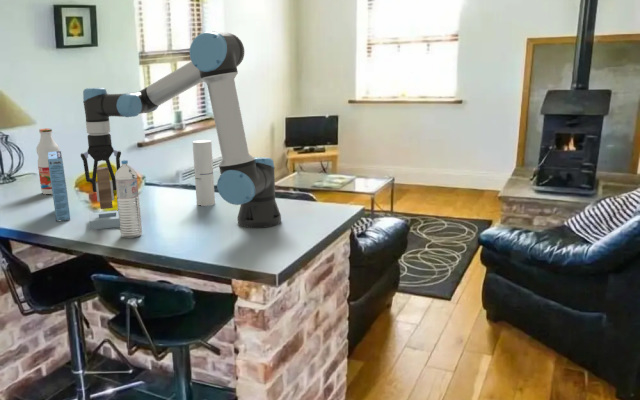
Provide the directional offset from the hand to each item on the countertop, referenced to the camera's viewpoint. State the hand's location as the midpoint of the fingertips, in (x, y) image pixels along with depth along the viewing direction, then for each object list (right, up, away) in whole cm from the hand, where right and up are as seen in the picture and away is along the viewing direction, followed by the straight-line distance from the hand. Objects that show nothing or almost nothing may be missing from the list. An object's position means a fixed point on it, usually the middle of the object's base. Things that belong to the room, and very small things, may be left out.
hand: (105, 200), depth 212 cm
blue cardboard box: (-22, -6, +15) cm, 27 cm away
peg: (0, -3, +1) cm, 3 cm away
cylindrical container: (+30, -2, +28) cm, 41 cm away
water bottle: (+13, -12, -13) cm, 22 cm away
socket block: (0, -8, +2) cm, 9 cm away
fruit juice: (-42, +3, +54) cm, 68 cm away
